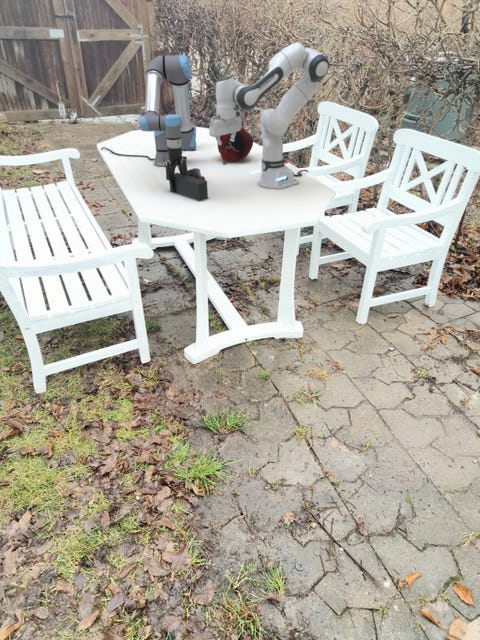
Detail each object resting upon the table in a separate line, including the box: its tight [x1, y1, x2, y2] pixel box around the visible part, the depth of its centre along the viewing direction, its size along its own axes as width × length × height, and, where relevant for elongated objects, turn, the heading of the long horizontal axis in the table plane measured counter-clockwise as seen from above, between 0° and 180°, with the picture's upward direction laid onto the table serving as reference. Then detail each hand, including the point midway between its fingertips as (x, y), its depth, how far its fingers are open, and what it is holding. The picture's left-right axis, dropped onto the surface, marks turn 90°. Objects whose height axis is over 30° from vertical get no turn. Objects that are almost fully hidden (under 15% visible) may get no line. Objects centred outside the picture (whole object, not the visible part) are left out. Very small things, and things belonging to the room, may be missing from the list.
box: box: [168, 172, 209, 202], centre depth 242 cm, size 24×6×9 cm, turn 47°
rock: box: [187, 167, 206, 181], centre depth 259 cm, size 12×9×10 cm
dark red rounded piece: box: [217, 127, 254, 165], centre depth 296 cm, size 21×24×25 cm
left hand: (178, 190), depth 249 cm, fingers closed on box, 6 cm apart
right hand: (225, 143), depth 231 cm, fingers open, 8 cm apart
